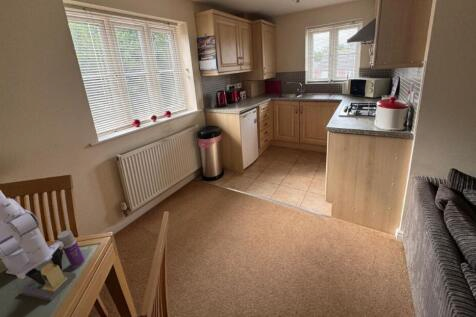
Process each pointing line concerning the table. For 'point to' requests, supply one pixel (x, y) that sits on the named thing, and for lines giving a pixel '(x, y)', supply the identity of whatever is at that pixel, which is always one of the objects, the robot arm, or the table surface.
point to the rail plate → (45, 292)
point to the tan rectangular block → (52, 276)
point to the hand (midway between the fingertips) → (51, 276)
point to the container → (71, 248)
